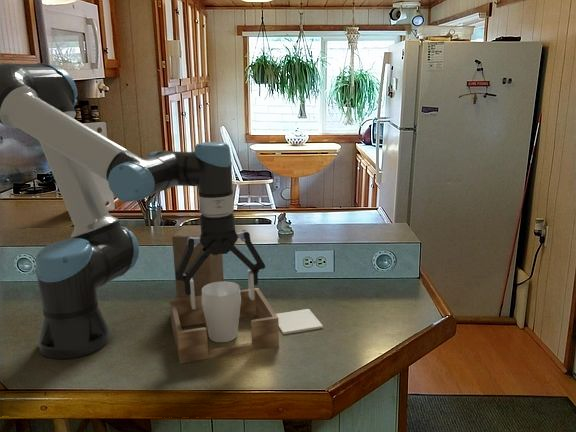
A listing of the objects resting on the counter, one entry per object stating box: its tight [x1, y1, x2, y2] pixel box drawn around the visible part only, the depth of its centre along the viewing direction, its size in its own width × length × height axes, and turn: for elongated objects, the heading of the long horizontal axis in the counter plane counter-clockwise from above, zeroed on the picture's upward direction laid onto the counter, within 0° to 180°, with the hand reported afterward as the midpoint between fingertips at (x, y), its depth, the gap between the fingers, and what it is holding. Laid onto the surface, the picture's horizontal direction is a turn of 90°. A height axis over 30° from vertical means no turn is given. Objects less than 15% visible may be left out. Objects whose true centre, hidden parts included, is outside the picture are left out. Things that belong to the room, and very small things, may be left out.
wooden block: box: [171, 225, 225, 299], centre depth 139 cm, size 10×10×20 cm
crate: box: [169, 287, 280, 364], centre depth 122 cm, size 22×18×7 cm
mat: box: [275, 308, 324, 335], centre depth 129 cm, size 10×10×1 cm
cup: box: [202, 280, 241, 343], centre depth 121 cm, size 9×9×12 cm
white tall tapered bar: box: [83, 121, 115, 212], centre depth 235 cm, size 20×14×40 cm
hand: (222, 302), depth 121 cm, fingers open, 13 cm apart
